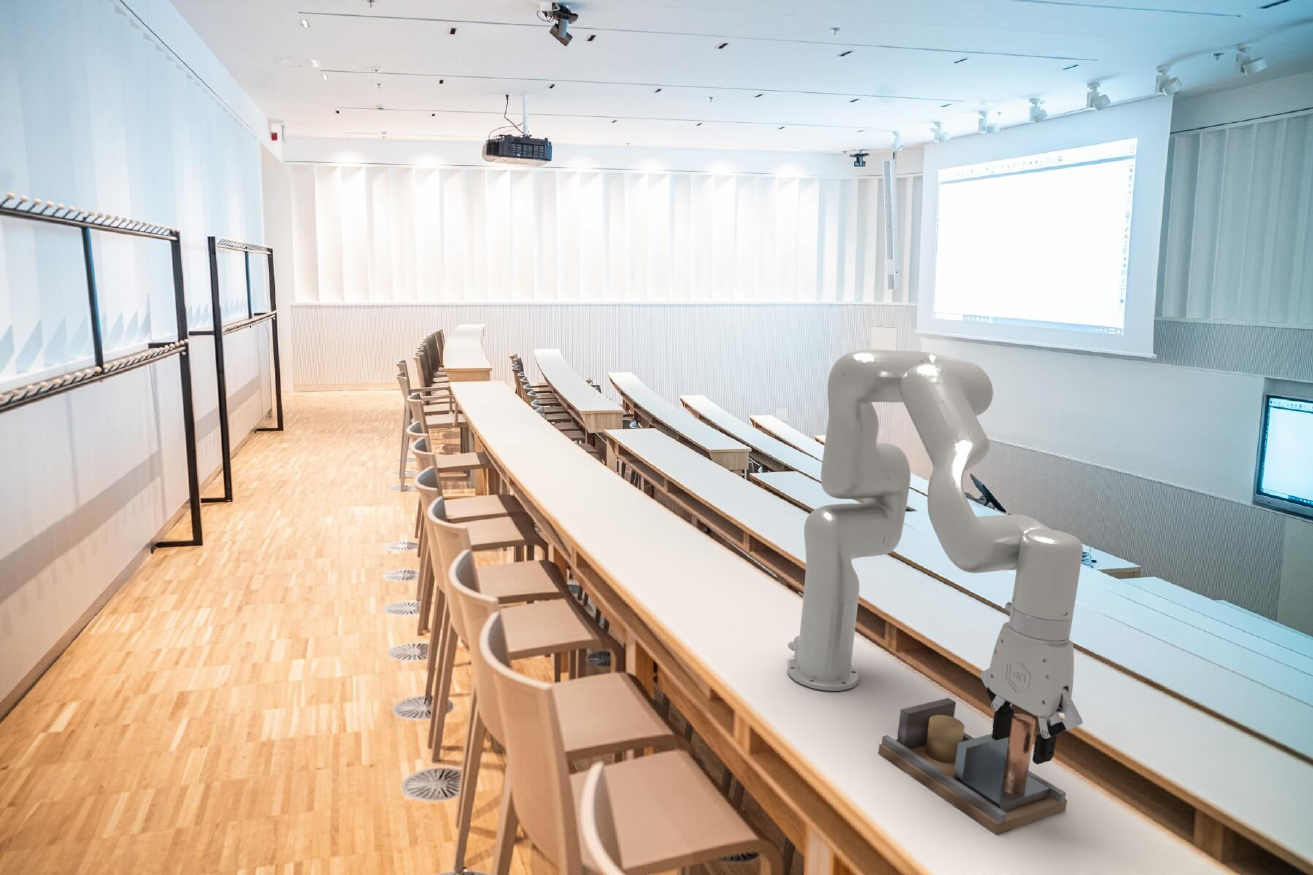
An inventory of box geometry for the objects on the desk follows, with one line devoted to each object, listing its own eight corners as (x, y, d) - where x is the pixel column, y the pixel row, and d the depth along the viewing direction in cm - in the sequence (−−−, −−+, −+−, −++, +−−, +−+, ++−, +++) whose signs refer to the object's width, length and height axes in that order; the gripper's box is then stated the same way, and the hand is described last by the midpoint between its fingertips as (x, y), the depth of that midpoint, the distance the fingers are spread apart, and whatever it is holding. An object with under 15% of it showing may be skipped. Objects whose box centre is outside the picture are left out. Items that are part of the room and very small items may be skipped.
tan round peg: (918, 749, 137) (922, 718, 136) (941, 742, 139) (946, 712, 138) (943, 765, 132) (947, 733, 132) (967, 758, 135) (971, 727, 134)
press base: (878, 753, 138) (883, 707, 136) (944, 735, 145) (950, 691, 143) (996, 834, 119) (1003, 782, 118) (1065, 809, 126) (1073, 759, 125)
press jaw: (952, 782, 128) (963, 706, 126) (1001, 767, 133) (1012, 693, 131) (999, 813, 121) (1010, 732, 119) (1048, 796, 126) (1060, 718, 124)
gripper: (968, 604, 126) (952, 725, 129) (1079, 653, 111) (1058, 788, 114) (1005, 598, 130) (989, 715, 133) (1117, 644, 115) (1095, 775, 118)
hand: (1021, 748), depth 124 cm, fingers open, 6 cm apart
